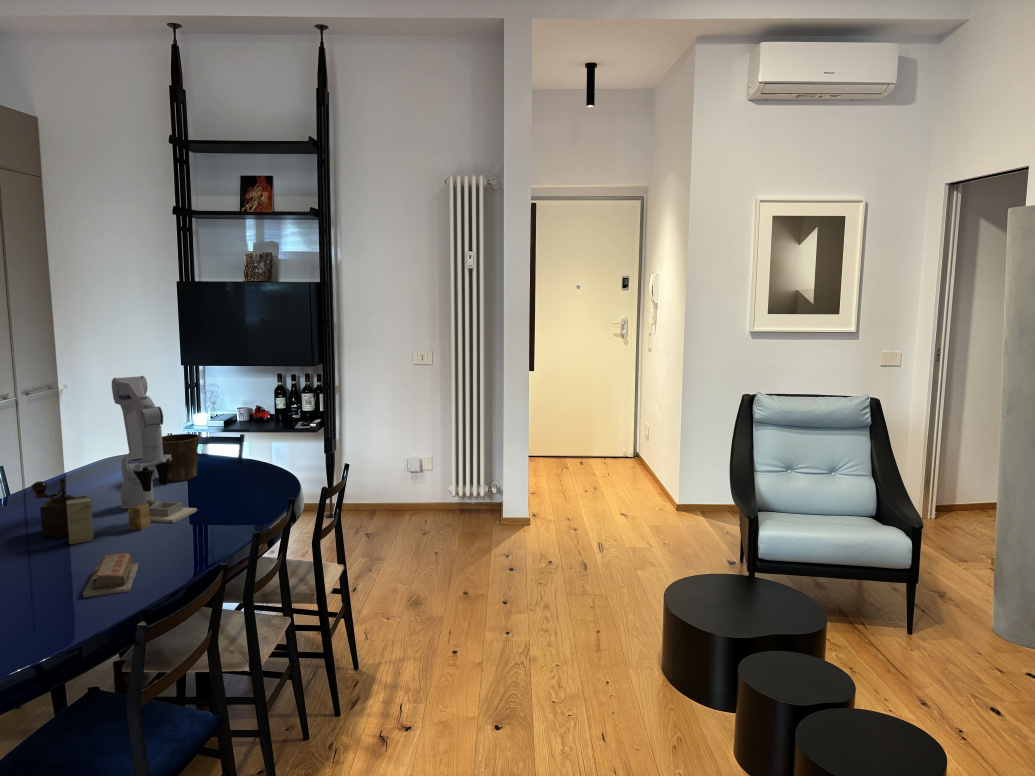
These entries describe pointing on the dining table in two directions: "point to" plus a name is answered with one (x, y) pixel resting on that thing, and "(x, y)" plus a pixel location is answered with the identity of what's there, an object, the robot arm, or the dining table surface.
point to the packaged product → (112, 576)
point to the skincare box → (79, 520)
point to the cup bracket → (168, 511)
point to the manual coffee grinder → (54, 509)
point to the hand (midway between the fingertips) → (155, 487)
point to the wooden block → (139, 516)
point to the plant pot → (181, 455)
